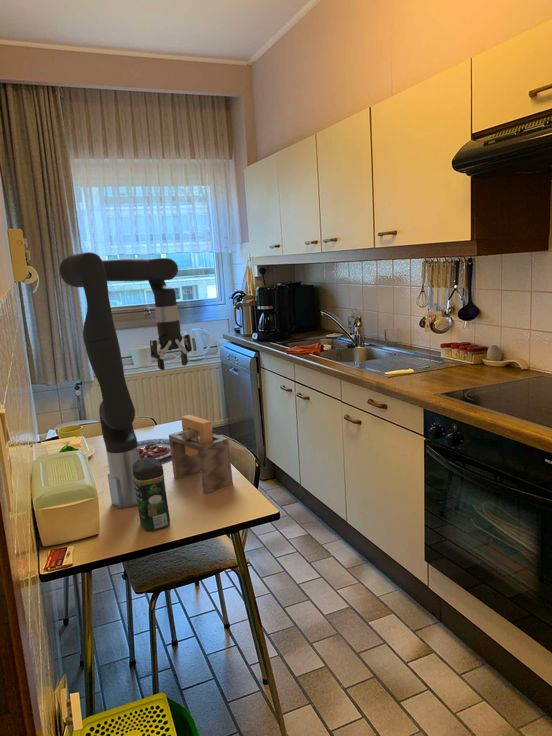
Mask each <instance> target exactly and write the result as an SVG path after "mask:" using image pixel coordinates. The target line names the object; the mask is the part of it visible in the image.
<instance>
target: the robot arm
mask: <svg viewBox="0 0 552 736" xmlns="http://www.w3.org/2000/svg"><path fill="white" fill-rule="evenodd" d="M178 273H179V266H178V264H177V262H176V261H175V260H173V259H172V258H169V257H160V258H159V257H158V258H142V257H139V258H138V257H132V258H131V257H128V258H126V257H124V258H116V259H105V260H102V258H101V257H100V256H99V255H98V254H97V253H96V252H94V251H85V252H81V253H75V254H71V255H68V256H67V257H65V258H64V259H63V260H62V261H61V262H60V264H59V274H60V277H61V279H62V280H63V282H64V283H66V285H68V286H70V287H74V288H83V292H84V295H85V299H86V314H85V319H84V323H83V330H82V338H83V343H84V348H85V352H86V354H87V355H86V356H87V358H88V361H89V364H90V366H91V368H92V371H93V374H94V375H95V378H96V380H97V382H98V385H99V388H100V392H101V398H102V401H101V403H100V405H99V408H98V415H99V423H100V428H101V433H102V438H103V442H104V445H105V449H106V450H105V451H106V457H107V464H108V470H109V473H108V474H107V481H108V487H109V495H110V502H111V504H113V506H115V507H116V508H118V509H124V508H130V507H134V506H135V507H136V506H138V504H137V498H136V492H135V485H134V477H133V464H134V463H135V462H136V461H137V460H138V459H139V451H138V444H137V442H138V439H137V435H136V433H135V430H134V426H133V422H134V421H135V418H136V417H135V416H136V409H135V408H136V407H135V405H134V403H133V400H132V398H131V395H130V392H129V388H128V385H127V382H126V378H125V372H124V365H123V364H124V363H123V358H122V354H121V347H120V343H119V338H118V334H117V331H116V325H115V322H114V316H113V311H112V307H111V303H110V295H109V288H108V287H109V285H108V282H144V281H148V283H149V286H150V288H151V289H150V290H151V291H152V293H153V294H152V295H153V297H154V299H153V300H154V307H155V321H156V327H157V328H156V329H157V334H158V339H150V340H149V347H150V348H149V349H150V358H152V359H156V363H157V368H158V369H159V370H160V371H165V370H166V368H165V361H164V356H165V354H166V353H167V352H168V351H169V352H170V351H172V350H178V351H179V353H180V360H181V365H182V366H183V367H184V366H187V365H188V362H189V360H188V354H189V353H190V352H192V351H193V348H192V342H191V336H190V334H188V333H183V334H181V331H182V330H181V323H180V322H181V321H180V314H179V309H178V304H177V303H178V302H177V295H176V290H175V289H174V288H173V287H170V286H168V285H167V284H166V281H169V280H173V279H174V278H175V277H177V274H178ZM182 341H183V344H184V345H183V344H182V343H181V342H182ZM159 345H160V346H159ZM158 346H159V348H158Z"/></svg>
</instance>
